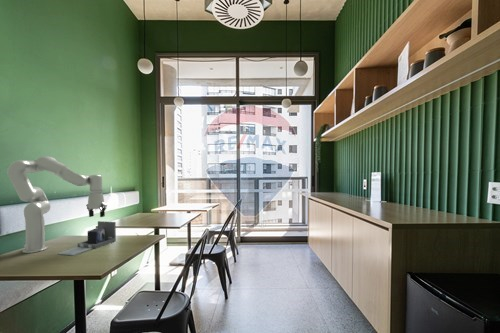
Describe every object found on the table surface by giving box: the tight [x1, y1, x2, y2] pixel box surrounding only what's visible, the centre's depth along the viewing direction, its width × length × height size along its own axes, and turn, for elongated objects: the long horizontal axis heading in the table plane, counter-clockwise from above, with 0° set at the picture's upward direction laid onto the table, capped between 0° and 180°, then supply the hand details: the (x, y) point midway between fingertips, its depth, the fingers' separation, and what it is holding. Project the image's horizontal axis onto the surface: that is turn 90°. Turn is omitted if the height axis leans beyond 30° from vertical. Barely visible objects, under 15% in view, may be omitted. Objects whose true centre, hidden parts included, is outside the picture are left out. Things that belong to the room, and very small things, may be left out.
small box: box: [87, 227, 105, 244], centre depth 173 cm, size 11×6×10 cm, turn 179°
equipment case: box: [77, 220, 117, 249], centre depth 173 cm, size 15×18×14 cm
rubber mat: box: [57, 246, 94, 257], centre depth 158 cm, size 13×13×1 cm
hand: (96, 216), depth 173 cm, fingers open, 9 cm apart
